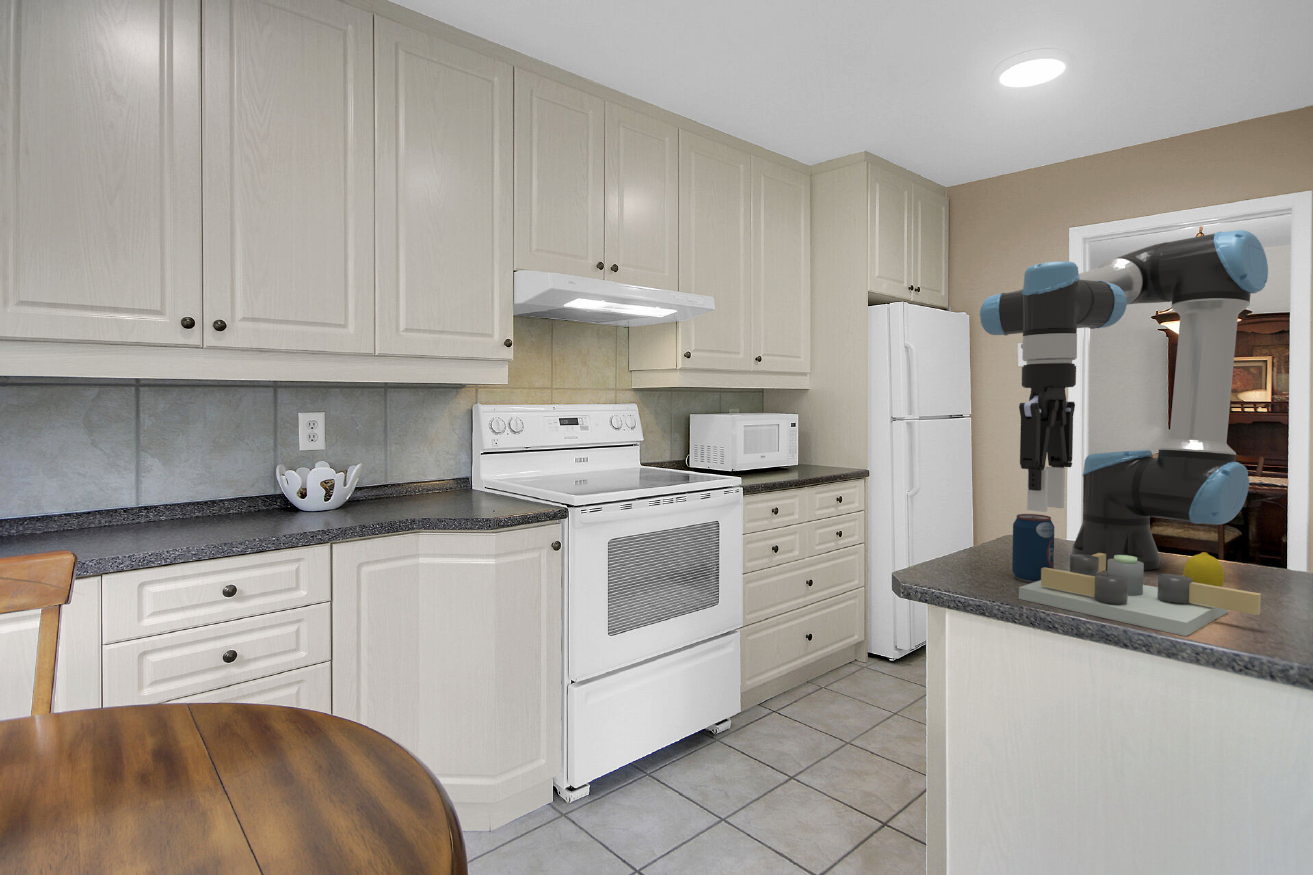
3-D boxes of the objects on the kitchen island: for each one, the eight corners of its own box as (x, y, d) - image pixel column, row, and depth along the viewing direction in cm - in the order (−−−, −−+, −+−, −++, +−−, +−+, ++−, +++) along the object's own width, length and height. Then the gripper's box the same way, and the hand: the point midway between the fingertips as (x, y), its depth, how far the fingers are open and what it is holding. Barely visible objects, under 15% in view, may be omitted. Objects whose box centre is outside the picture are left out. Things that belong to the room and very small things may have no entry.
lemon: (1231, 604, 116) (1232, 556, 116) (1193, 602, 117) (1194, 555, 117) (1212, 595, 122) (1213, 549, 121) (1175, 593, 123) (1177, 548, 122)
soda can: (1059, 584, 130) (1060, 519, 129) (1019, 583, 131) (1020, 519, 130) (1044, 574, 137) (1046, 513, 136) (1006, 573, 138) (1007, 512, 137)
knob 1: (1091, 580, 123) (1092, 561, 123) (1065, 575, 127) (1065, 556, 127) (1115, 572, 129) (1115, 553, 129) (1089, 567, 132) (1089, 549, 132)
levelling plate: (1067, 581, 131) (1068, 540, 131) (1227, 612, 112) (1229, 564, 112) (1018, 598, 121) (1019, 553, 120) (1186, 636, 101) (1187, 582, 101)
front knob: (1132, 600, 112) (1132, 578, 111) (1120, 605, 109) (1121, 583, 109) (1048, 583, 122) (1049, 563, 122) (1036, 587, 119) (1036, 567, 119)
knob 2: (1152, 598, 112) (1153, 576, 112) (1163, 593, 115) (1164, 572, 115) (1254, 618, 102) (1255, 594, 102) (1263, 612, 105) (1264, 589, 104)
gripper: (1051, 364, 120) (1048, 500, 121) (995, 362, 109) (993, 511, 110) (1099, 362, 114) (1096, 506, 115) (1045, 360, 103) (1042, 518, 104)
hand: (1045, 508), depth 113 cm, fingers open, 5 cm apart
